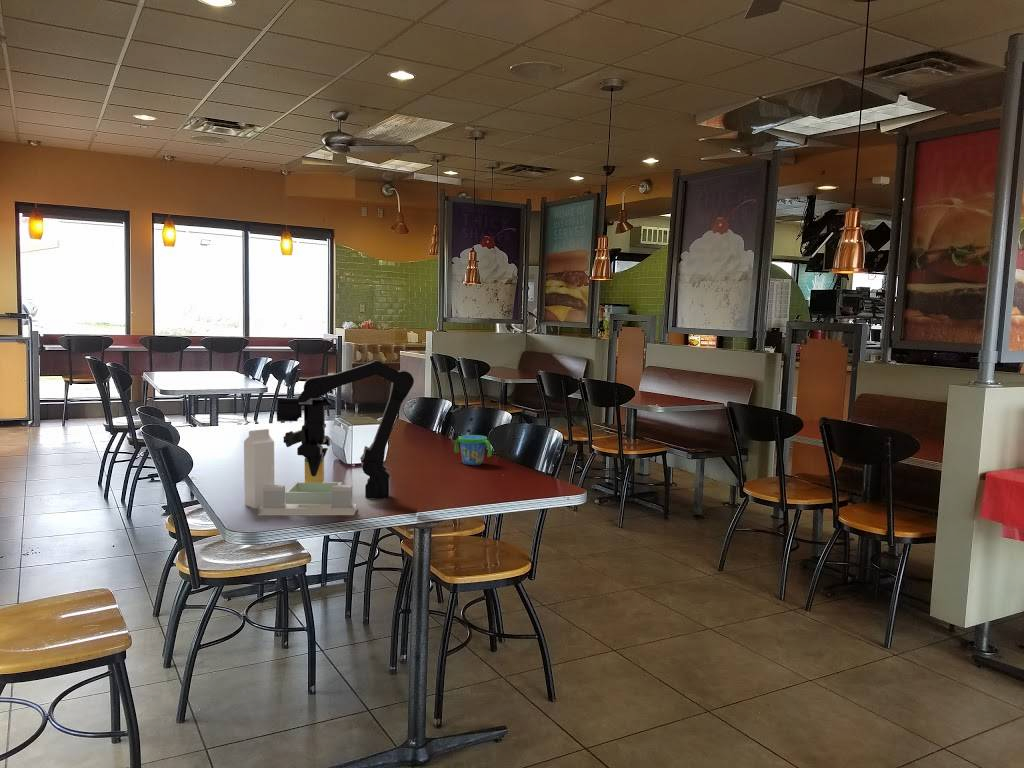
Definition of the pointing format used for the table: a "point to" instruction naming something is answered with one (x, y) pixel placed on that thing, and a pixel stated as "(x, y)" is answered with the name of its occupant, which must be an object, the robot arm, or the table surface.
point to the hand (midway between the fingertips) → (314, 474)
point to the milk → (258, 466)
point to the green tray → (310, 493)
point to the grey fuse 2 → (342, 496)
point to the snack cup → (472, 448)
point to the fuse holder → (307, 510)
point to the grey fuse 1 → (274, 496)
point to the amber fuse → (319, 476)
